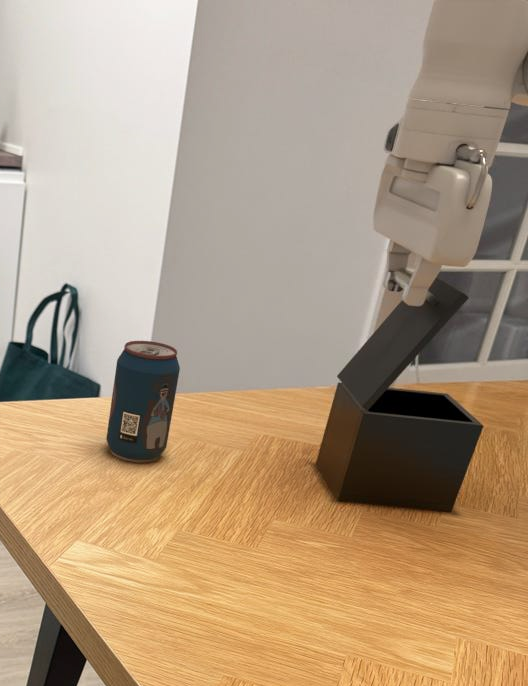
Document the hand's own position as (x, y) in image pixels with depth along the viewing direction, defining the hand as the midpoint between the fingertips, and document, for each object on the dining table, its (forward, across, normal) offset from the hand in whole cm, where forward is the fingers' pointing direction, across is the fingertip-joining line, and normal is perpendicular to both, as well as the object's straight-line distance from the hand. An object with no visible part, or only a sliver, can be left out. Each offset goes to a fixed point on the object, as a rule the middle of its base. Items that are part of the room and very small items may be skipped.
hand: (401, 296), depth 90 cm
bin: (+20, 0, -4) cm, 21 cm away
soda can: (+20, +3, +24) cm, 32 cm away
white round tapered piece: (+21, +32, -12) cm, 40 cm away
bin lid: (+4, 0, -1) cm, 5 cm away
